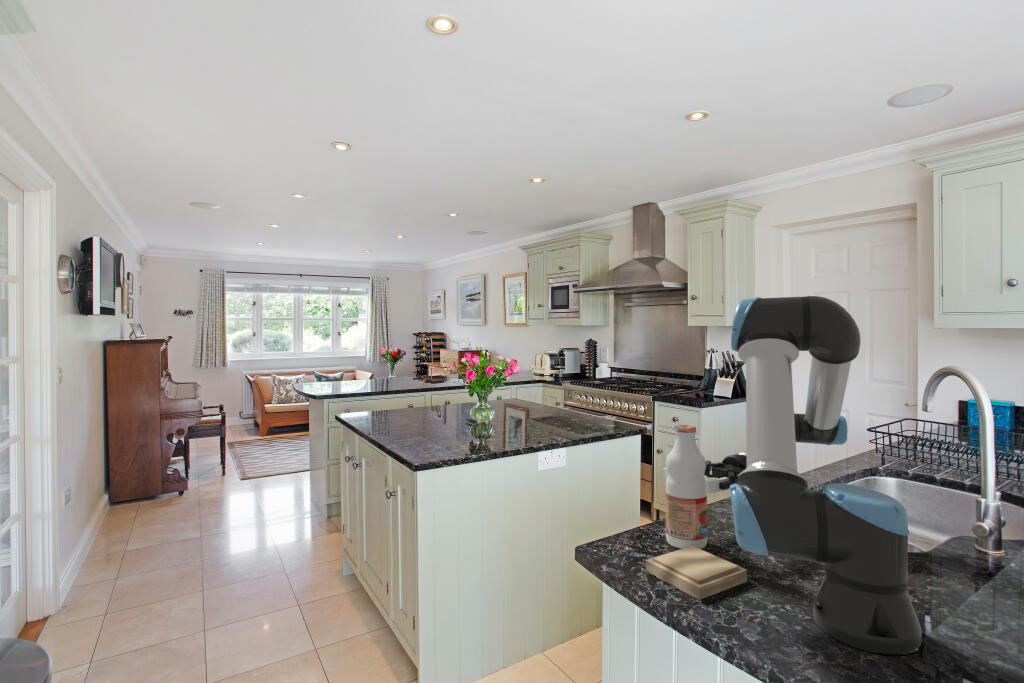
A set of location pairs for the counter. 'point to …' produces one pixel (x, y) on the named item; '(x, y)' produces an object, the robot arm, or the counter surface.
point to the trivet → (696, 572)
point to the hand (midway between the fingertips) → (684, 480)
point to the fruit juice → (686, 492)
